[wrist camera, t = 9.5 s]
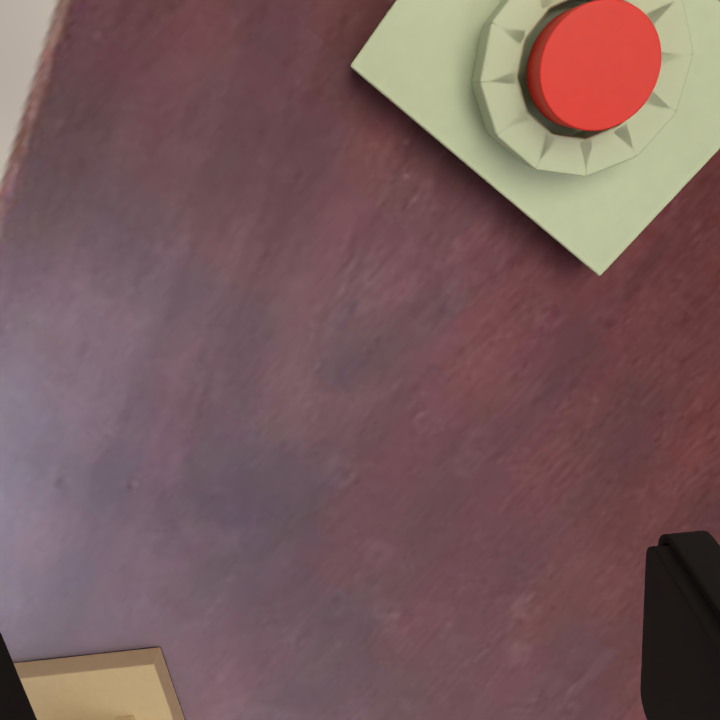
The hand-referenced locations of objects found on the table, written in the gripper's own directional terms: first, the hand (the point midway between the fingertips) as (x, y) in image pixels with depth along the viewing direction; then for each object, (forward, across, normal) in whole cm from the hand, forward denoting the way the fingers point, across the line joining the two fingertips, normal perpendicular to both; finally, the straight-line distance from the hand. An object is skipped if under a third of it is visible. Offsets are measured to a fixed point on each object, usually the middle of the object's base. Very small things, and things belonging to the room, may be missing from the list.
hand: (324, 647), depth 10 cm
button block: (+20, -8, -7) cm, 23 cm away
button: (+16, -8, -7) cm, 19 cm away
